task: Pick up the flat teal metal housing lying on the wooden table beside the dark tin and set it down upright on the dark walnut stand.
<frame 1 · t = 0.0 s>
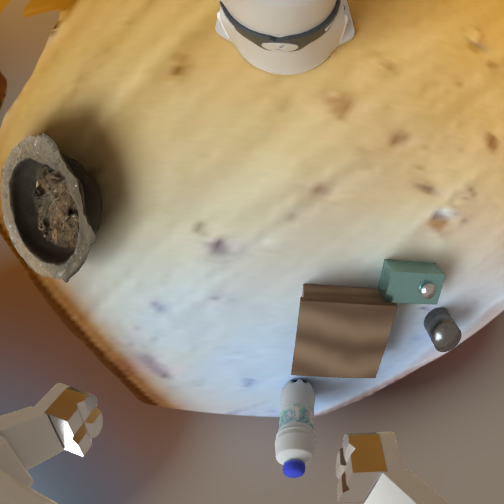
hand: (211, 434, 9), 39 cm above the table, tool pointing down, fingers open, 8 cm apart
bottle: (298, 386, 58), on the table
stand: (338, 321, 51), on the table
housing: (407, 275, 47), on the table
stone bowl: (62, 201, 50), on the table
tin: (436, 319, 49), on the table
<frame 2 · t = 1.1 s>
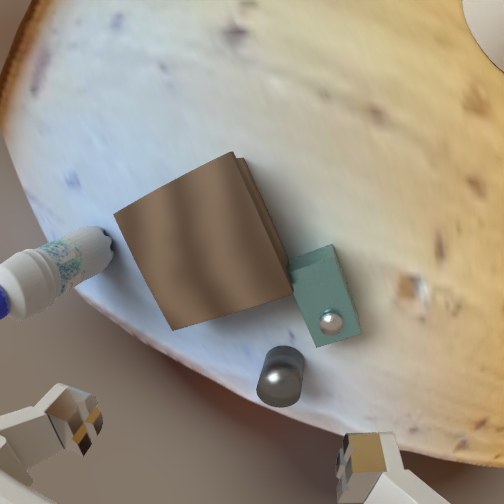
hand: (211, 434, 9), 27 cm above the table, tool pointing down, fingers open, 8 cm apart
bottle: (100, 245, 40), on the table
stand: (215, 235, 36), on the table
housing: (324, 287, 36), on the table
tin: (284, 361, 40), on the table
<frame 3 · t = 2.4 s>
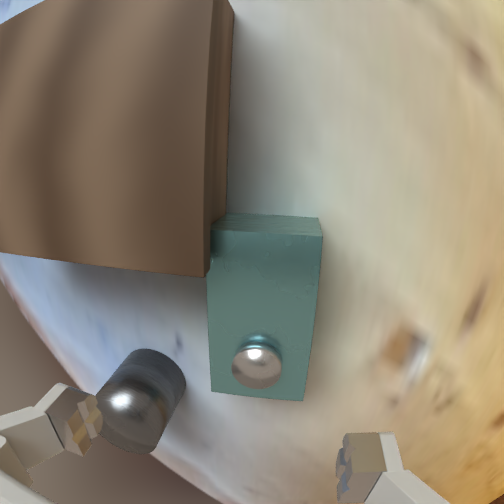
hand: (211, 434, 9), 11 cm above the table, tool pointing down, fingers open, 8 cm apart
stand: (124, 120, 17), on the table
housing: (269, 289, 19), on the table
tin: (154, 375, 22), on the table
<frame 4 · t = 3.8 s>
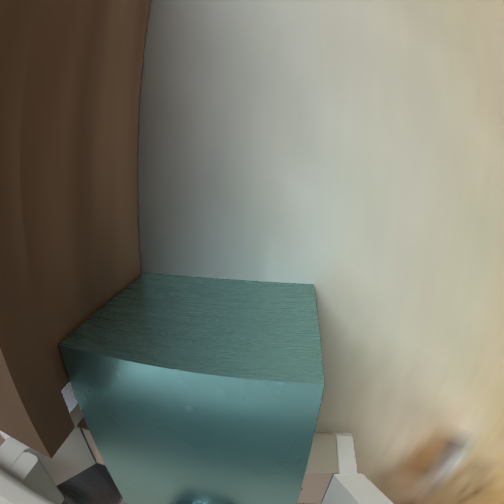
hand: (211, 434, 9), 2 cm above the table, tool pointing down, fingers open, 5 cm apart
stand: (0, 118, 9), on the table
housing: (228, 395, 11), on the table, touching gripper
tin: (89, 465, 14), on the table
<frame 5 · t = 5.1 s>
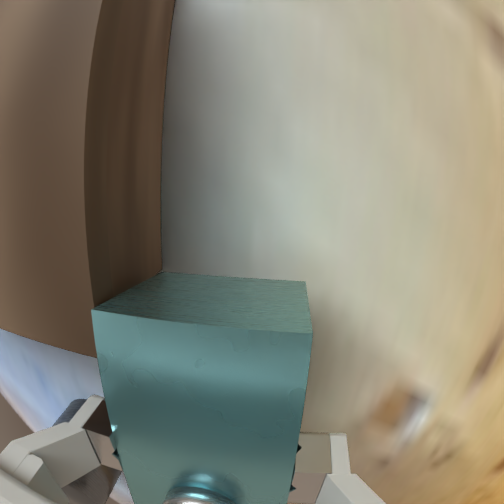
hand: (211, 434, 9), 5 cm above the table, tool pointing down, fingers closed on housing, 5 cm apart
stand: (42, 124, 12), on the table
housing: (228, 390, 12), point 2 cm above the table, tilted 7°, touching gripper
tin: (100, 427, 17), on the table
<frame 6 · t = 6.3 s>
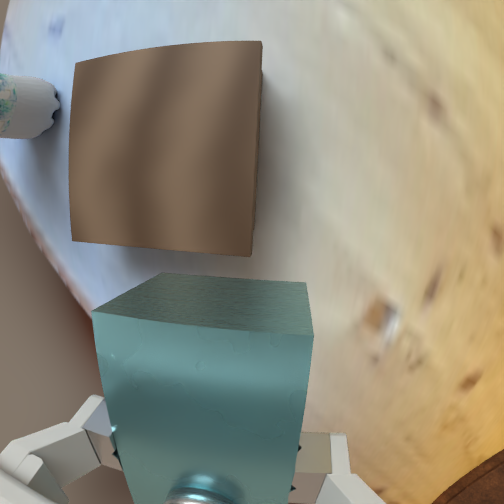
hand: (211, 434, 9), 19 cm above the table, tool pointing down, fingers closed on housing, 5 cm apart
bottle: (44, 109, 26), on the table
stand: (179, 147, 25), on the table
housing: (229, 391, 12), point 16 cm above the table, tilted 8°, touching gripper
cutting board: (496, 484, 34), on the table
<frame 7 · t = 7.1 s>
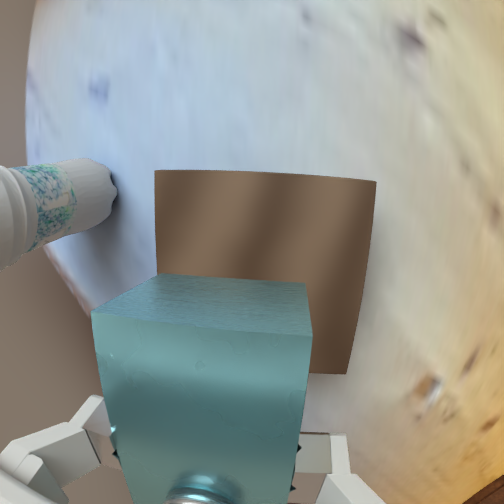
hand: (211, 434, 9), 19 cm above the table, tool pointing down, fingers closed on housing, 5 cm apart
bottle: (96, 190, 27), on the table
stand: (265, 255, 27), on the table
housing: (228, 391, 12), point 16 cm above the table, tilted 8°, touching gripper
when the fingers open (9 cm above the table, at t = 9.8 s): housing stays where it is, resting on stand.
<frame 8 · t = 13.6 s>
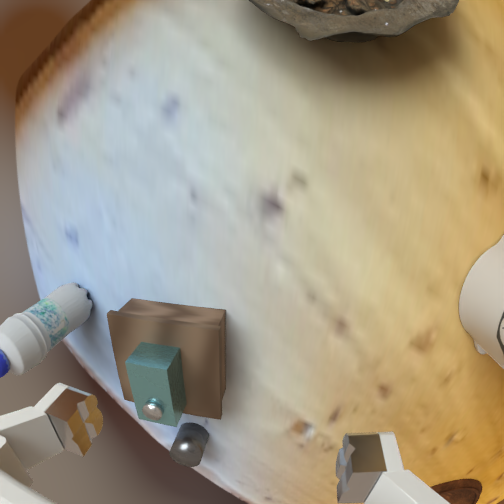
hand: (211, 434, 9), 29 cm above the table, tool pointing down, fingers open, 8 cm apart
bottle: (80, 298, 43), on the table
stand: (179, 346, 43), on the table
housing: (164, 374, 37), point 6 cm above the table, touching stand
tin: (194, 432, 48), on the table
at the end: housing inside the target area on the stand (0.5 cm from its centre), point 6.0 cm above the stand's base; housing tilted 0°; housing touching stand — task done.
